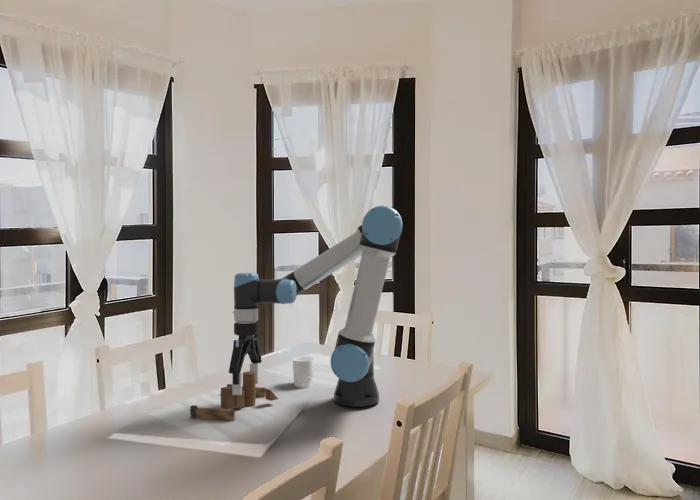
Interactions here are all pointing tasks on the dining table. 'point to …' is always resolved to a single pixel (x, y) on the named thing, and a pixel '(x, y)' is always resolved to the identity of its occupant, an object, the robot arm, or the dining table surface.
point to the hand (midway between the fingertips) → (245, 388)
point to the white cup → (303, 371)
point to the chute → (220, 413)
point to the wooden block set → (243, 393)
